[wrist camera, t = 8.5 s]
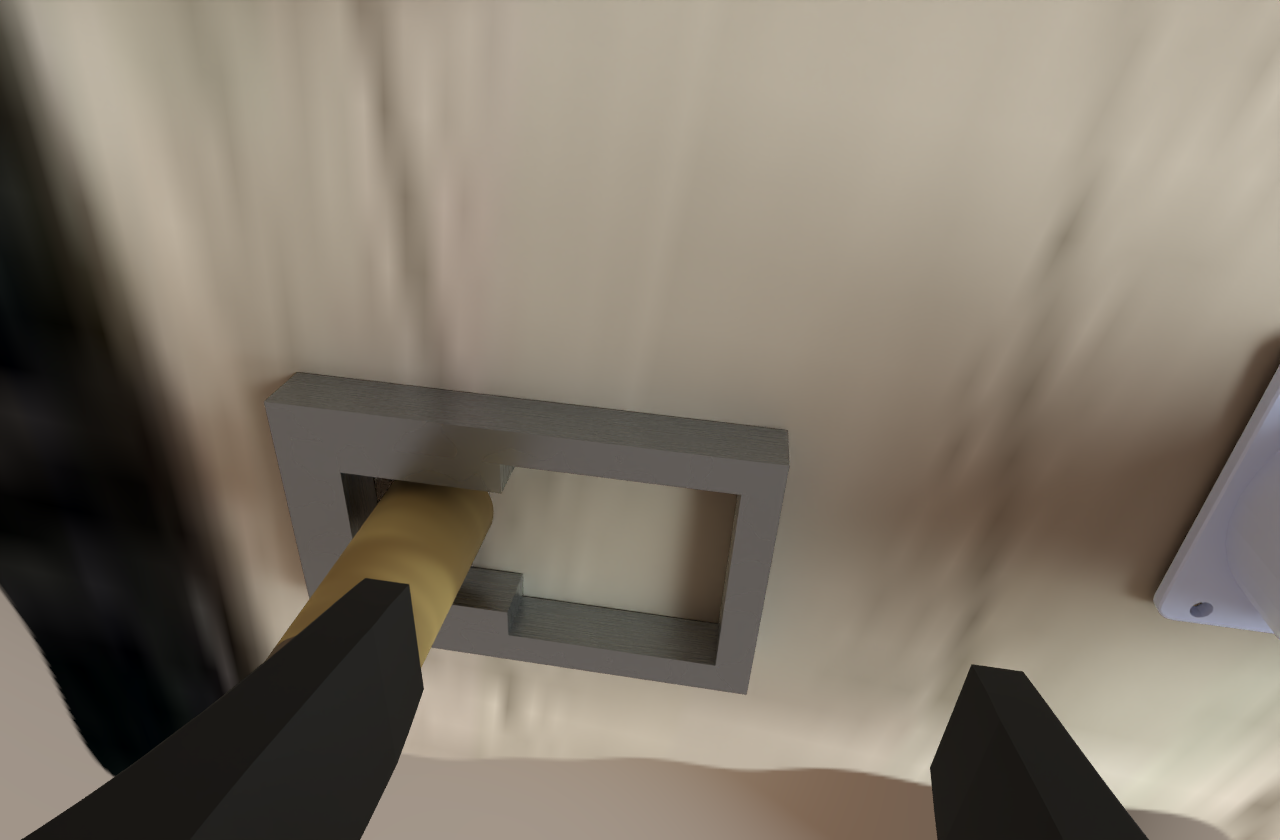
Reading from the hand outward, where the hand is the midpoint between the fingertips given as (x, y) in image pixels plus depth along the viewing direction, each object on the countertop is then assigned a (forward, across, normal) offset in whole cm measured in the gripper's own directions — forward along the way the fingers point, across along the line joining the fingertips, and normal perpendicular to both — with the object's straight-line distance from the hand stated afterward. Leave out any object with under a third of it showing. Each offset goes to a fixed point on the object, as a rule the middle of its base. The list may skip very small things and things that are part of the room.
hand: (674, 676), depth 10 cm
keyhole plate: (+10, +4, +6) cm, 12 cm away
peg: (+10, +7, +6) cm, 14 cm away
